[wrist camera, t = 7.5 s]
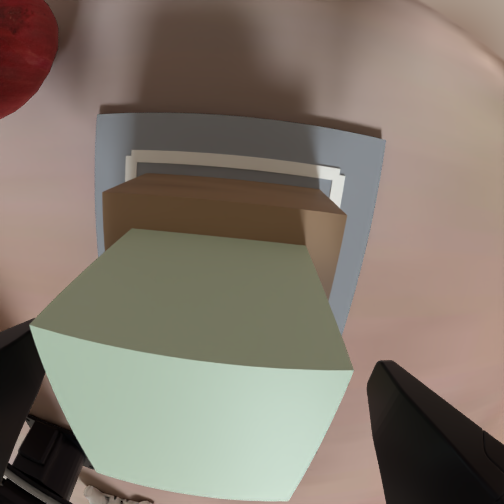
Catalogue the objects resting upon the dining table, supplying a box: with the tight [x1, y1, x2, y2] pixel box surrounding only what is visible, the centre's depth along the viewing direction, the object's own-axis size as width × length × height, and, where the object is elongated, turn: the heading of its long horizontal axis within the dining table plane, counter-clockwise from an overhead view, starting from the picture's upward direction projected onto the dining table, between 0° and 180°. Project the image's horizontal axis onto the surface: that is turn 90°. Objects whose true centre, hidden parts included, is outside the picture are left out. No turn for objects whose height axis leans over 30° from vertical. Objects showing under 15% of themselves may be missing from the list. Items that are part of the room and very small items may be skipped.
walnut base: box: [102, 173, 347, 301], centre depth 11 cm, size 7×7×4 cm
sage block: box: [29, 228, 354, 501], centre depth 7 cm, size 5×5×5 cm
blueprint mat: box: [95, 113, 386, 336], centre depth 13 cm, size 12×12×1 cm
